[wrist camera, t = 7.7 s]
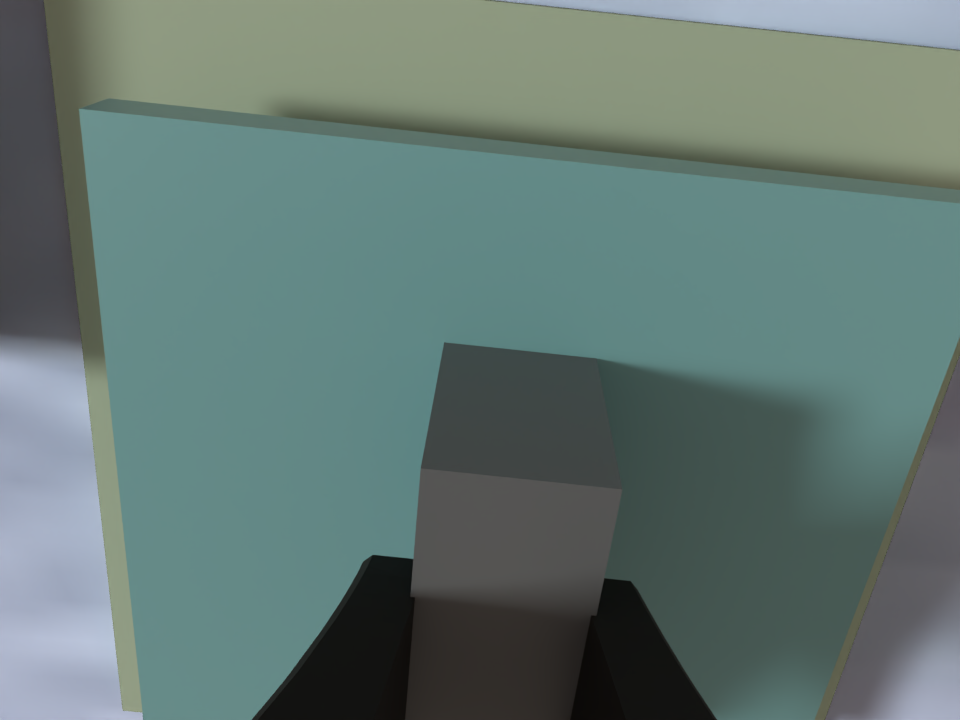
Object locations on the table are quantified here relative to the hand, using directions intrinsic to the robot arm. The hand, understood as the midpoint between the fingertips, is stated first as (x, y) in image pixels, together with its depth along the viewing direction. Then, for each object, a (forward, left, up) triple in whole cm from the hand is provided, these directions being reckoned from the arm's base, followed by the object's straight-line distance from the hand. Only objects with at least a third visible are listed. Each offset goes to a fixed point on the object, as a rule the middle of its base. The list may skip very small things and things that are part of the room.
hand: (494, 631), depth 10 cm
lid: (0, 0, -4) cm, 4 cm away
